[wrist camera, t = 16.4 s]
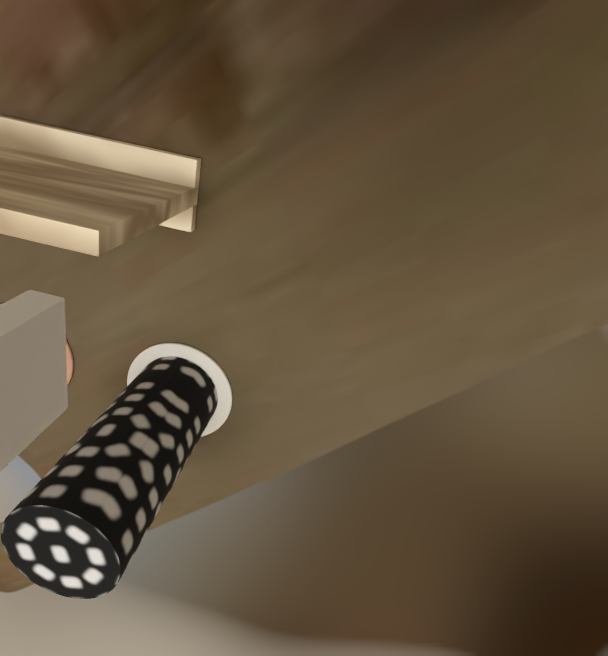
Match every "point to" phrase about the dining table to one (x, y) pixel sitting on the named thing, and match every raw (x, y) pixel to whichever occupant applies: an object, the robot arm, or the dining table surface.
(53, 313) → the robot arm
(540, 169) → the dining table surface
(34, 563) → the spotted tube
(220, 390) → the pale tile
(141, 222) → the birch shelf
